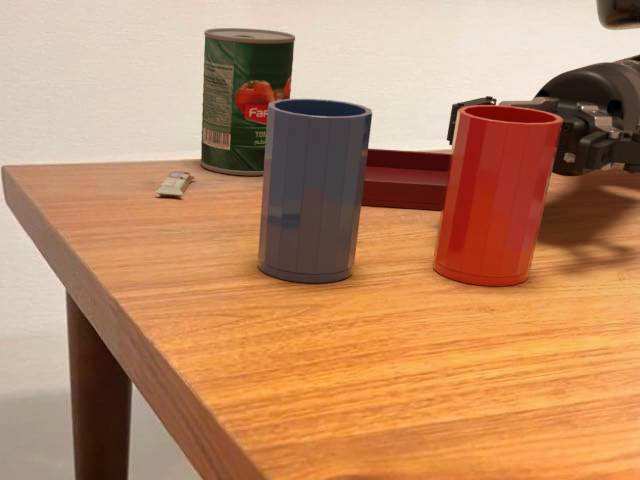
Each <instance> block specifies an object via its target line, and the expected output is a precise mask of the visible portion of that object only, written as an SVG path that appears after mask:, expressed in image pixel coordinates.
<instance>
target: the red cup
mask: <svg viewBox="0 0 640 480" xmlns="http://www.w3.org/2000/svg"><path fill="white" fill-rule="evenodd" d="M562 124H563V119H562V118H561V117H560V116H558V115H555V114H552V113H549V112H545V111H540V110H535V109H529V108H521V107H513V106H512V107H511V106H499V105H498V104H496V105H474V106H466V107H462V108H460V109H458V113H457V119H456V125H455V131H454V137H453V143H452V145H451V149H450V154H451V155H450V161H449V167H448V173H447V179H446V185H445V191H444V197H443V203H442V209H441V210H440V216H439V222H438V227H437V228H438V229H437V234H436V240H435V247H434V251H433V263H432V266H433V269H434V271H435V272H437V274H439V275H441V276H443V277H445V278H448V279H451V280H453V281H457V282H460V283H465V284H470V285H475V286H486V287H506V286H507V287H509V286H514V285H519V284H521V283H524V282H525V281H527V279H528V277H529V273H530V269H532V268H531V267H532V265H533V264H532V263H533V258H534V254H535V249H536V245H537V240H538V236H539V232H540V228H541V223H542V218H543V213H544V209H545V205H546V199H547V196H548V192H549V187H550V182H551V178H552V169H553V165H554V160H555V156H556V151H557V147H558V142H559V138H560V133H561V129H562Z"/></svg>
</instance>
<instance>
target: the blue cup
mask: <svg viewBox="0 0 640 480" xmlns="http://www.w3.org/2000/svg"><path fill="white" fill-rule="evenodd" d="M372 119H373V111H372V109H371V108H369V107H366V106H364V105H362V104H359V103H353V102H348V101H341V100H335V99H334V100H333V99H321V98H290V99H285V100H277V101H274V102H270V103H269V105H268V114H267V129H266V145H265V160H264V175H262V176H263V177H262V178H263V179H262V192H261V193H262V194H261V205H260V206H261V207H260V220H259V221H260V223H259V224H260V225H259V236H258V237H259V238H258V253H257V259H258V260H257V266H258V269H259V270H261V271H262V272H263V273H265V274H266V275H268V276H270V277H273V278H276V279H280V280H283V281H289V282H294V283H303V284H324V283H326V284H327V283H333V282H339V281H343V280H345V279H347V278H349V277H350V276H351V275H352V274H353V272H354V265H355V261H356V253H357V243H358V237H359V236H358V235H359V228H360V227H359V226H360V220H361V210H362V205H361V203H362V195H363V187H364V179H365V170H366V162H367V154H368V148H369V145H370V137H371V128H372Z"/></svg>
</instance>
